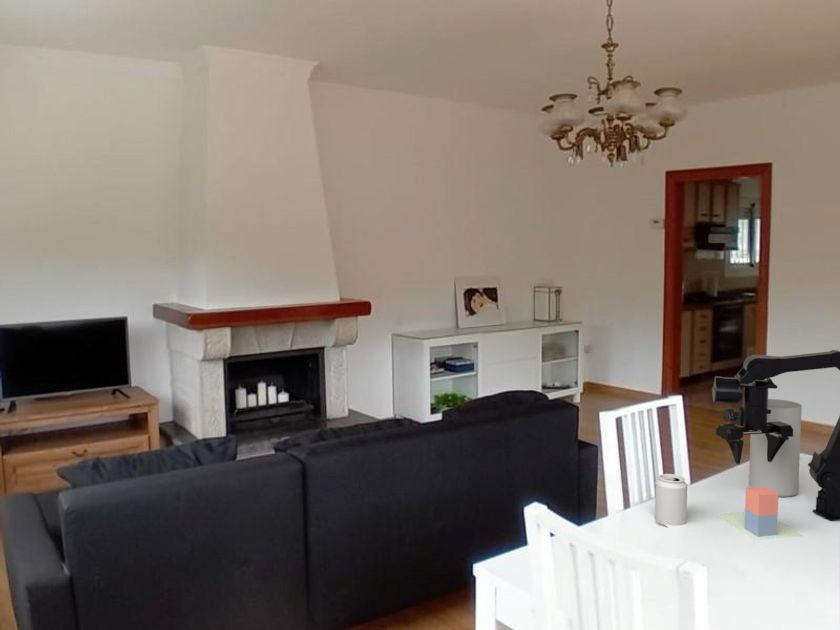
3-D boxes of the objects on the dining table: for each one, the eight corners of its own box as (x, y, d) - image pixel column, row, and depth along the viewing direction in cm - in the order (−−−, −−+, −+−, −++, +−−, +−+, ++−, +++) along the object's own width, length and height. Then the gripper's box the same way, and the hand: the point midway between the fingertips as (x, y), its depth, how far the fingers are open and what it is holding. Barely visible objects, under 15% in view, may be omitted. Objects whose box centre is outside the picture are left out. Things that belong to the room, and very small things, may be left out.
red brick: (763, 506, 169) (764, 486, 168) (777, 514, 164) (778, 493, 164) (745, 508, 168) (745, 488, 168) (758, 516, 163) (759, 495, 163)
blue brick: (763, 527, 169) (763, 507, 169) (776, 535, 164) (777, 514, 164) (744, 528, 168) (745, 508, 168) (757, 536, 164) (758, 516, 163)
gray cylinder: (746, 492, 196) (749, 405, 194) (751, 480, 207) (754, 397, 204) (796, 500, 189) (800, 410, 187) (799, 487, 200) (803, 401, 198)
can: (688, 530, 170) (690, 482, 169) (656, 528, 172) (657, 480, 171) (683, 519, 177) (684, 473, 176) (652, 517, 179) (653, 471, 178)
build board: (760, 514, 180) (760, 511, 180) (804, 539, 164) (804, 535, 164) (713, 518, 178) (714, 514, 177) (753, 544, 162) (754, 540, 162)
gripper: (767, 396, 191) (765, 452, 192) (705, 399, 188) (703, 456, 189) (796, 405, 180) (793, 464, 181) (730, 408, 177) (728, 468, 178)
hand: (753, 462), depth 183 cm, fingers open, 9 cm apart
